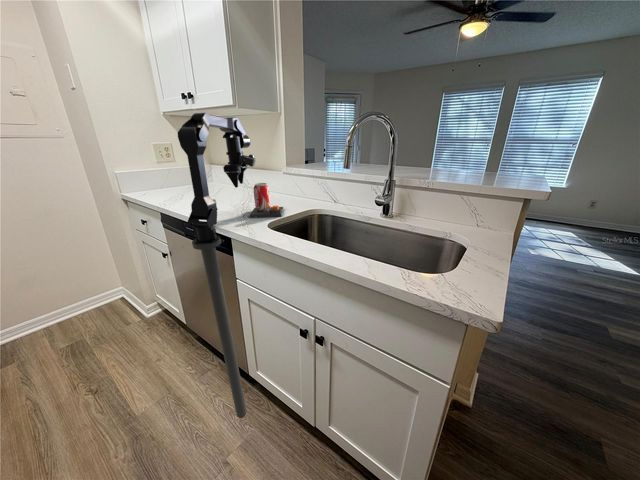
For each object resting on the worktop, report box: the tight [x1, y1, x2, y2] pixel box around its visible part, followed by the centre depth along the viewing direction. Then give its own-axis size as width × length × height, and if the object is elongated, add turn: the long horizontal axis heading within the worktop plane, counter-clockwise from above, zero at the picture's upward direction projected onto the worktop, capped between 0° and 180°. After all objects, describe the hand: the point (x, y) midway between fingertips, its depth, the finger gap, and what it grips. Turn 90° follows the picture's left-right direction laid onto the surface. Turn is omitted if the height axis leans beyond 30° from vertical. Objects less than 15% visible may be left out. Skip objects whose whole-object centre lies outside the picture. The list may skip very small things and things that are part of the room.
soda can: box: [253, 182, 271, 211], centre depth 120 cm, size 7×7×12 cm
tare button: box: [272, 205, 280, 210], centre depth 117 cm, size 3×3×2 cm
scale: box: [249, 206, 285, 219], centre depth 121 cm, size 14×12×3 cm
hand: (239, 185), depth 118 cm, fingers open, 9 cm apart
